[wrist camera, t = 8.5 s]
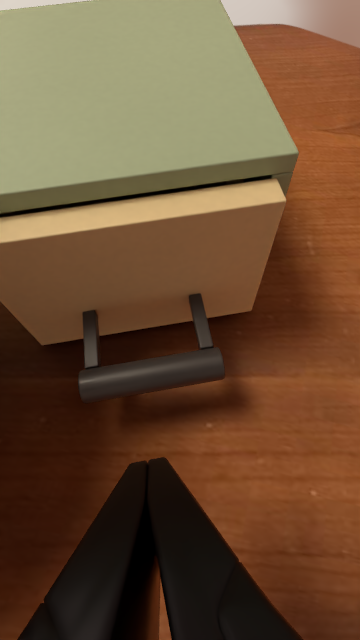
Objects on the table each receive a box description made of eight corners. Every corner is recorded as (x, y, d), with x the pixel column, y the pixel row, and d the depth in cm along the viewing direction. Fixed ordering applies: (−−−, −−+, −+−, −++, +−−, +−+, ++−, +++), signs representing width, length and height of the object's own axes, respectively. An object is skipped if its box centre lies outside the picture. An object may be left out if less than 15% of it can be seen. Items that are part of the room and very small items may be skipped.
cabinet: (253, 299, 20) (300, 152, 12) (37, 334, 19) (-82, 205, 11) (206, 151, 26) (213, -14, 18) (42, 174, 26) (-31, 13, 17)
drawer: (274, 384, 17) (333, 303, 10) (39, 426, 16) (-73, 370, 9) (205, 162, 24) (211, 29, 18) (45, 184, 24) (-14, 55, 17)
